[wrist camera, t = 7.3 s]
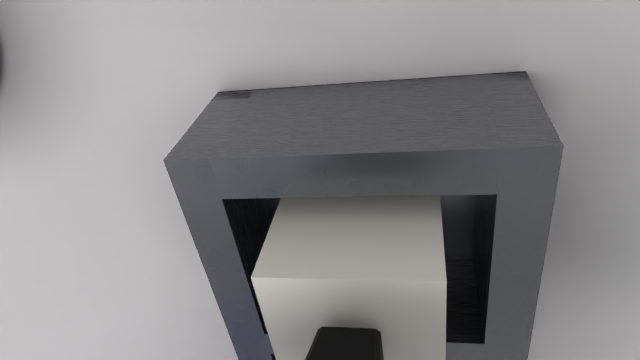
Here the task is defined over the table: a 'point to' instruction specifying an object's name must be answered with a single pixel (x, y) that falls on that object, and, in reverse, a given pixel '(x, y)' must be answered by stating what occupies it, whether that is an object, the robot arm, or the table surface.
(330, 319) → the ivory key
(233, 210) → the grey compartment tray
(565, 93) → the table surface
